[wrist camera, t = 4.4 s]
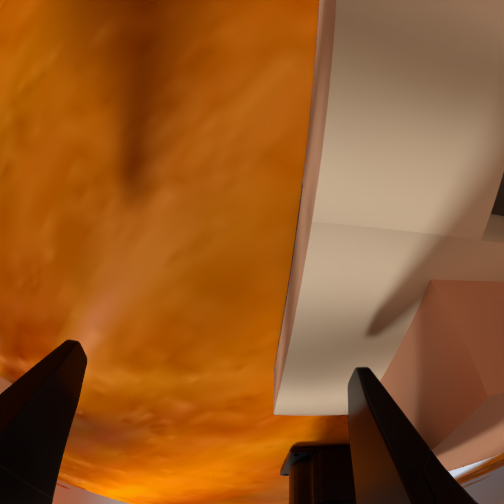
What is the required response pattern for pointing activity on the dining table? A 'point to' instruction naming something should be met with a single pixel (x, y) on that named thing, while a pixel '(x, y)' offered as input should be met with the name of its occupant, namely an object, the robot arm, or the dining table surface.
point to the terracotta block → (454, 371)
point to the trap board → (390, 185)
